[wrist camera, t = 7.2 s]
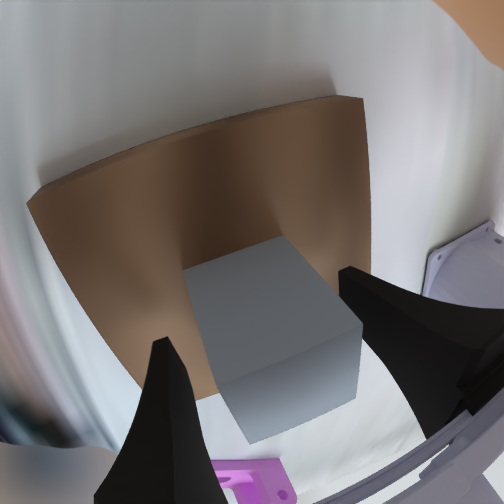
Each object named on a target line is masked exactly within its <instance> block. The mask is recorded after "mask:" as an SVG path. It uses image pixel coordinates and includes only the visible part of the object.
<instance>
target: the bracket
mask: <svg viewBox="0 0 504 504" xmlns="http://www.w3.org/2000/svg"><path fill="white" fill-rule="evenodd" d="M211 463H212V466H213V468H214V471H215V473H216V476H217V478H218V481H219V483H220V486H221V488H230V489H232V490H233V492H234V494H235V497H236V500H237V502H238V504H296V502H297V496H296V493H295V491H294V489H293V487H292V484H291V482H290V480H289V478H288V476H287V474H286V472H285V470H284V468H283V465H282V463H281V461H280V459H279V458H278V459H262V460H211ZM278 496H279V497H278Z"/></svg>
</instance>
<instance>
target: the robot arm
mask: <svg viewBox="0 0 504 504" xmlns="http://www.w3.org/2000/svg"><path fill="white" fill-rule="evenodd" d="M494 225H495V223H494V221H492V220H490V221H488V222H486V223H485V224H483V225H481V226H480V227H478V228H476V229H474V230H473V231H471V232H469V233H467V234H466V235H464V236H462V237H460V238H458V239H457V240H455V241H453V242H451V243H449V244H447V245H446V246H444V247H442V248H440V249H438V250H436V251H434V252H433V253H431V254H430V256H429V258H428V265H427V271H426V277H425V283H424V289H423V294H422V295H419V294H416V293H413V292H410V291H408V290H405V289H403V288H400V287H398V286H395V285H393V284H391V283H388V282H386V281H384V280H381V279H379V278H377V277H375V276H373V275H370V274H368V273H366V272H364V271H362V270H359V269H357V268H355V267H353V266H348V267H346V268H344V269H341V270H339V271H338V281H339V297H340V298H341V299H342V300H343V301H344V303H345V304H346V305H347V306H348V307H349V308H350V309H351V311H352V312H353V313H354V314H355V315H356V316H357V317H358V318H359V320H360V321H361V322H362V323H363V332H362V338H363V340H364V341H365V342H366V343H367V344H368V345H369V347H370V348H371V349H372V350H373V351H374V352H375V354H376V355H377V356H378V357H379V358H380V359H381V361H382V362H383V363H384V365H385V366H386V367H387V369H388V370H389V372H390V373H391V375H392V376H393V378H394V380H395V381H396V383H397V384H398V386H399V388H400V389H401V391H402V393H403V394H404V396H405V398H406V399H407V401H408V403H409V405H410V407H411V409H412V410H413V412H414V414H415V416H416V418H417V420H418V422H419V424H420V426H421V429H422V431H423V433H424V435H425V438H426V439H427V440H426V441H425V442H423V443H422V444H420V445H419V446H417V447H416V448H414V449H413V450H411V451H410V452H408V453H407V454H405V455H404V456H402V457H401V458H399V459H398V460H396V461H394V462H393V463H391V464H389V465H388V466H386V467H384V468H383V469H381V470H379V471H378V472H376V473H374V474H372V475H371V476H369V477H367V478H365V479H363V480H361V481H359V482H358V483H356V484H354V485H352V486H350V487H348V488H346V489H344V490H342V491H340V492H338V493H336V494H333V495H331V496H329V497H327V498H325V499H323V500H320V501H318V502H316V503H313V504H356V503H358V502H360V501H362V500H364V499H366V498H368V497H369V496H371V495H373V494H375V493H377V492H378V491H380V490H382V489H384V488H385V487H387V486H388V485H390V484H392V483H394V482H395V481H397V480H399V479H400V478H401V477H403V476H405V475H406V474H408V473H409V472H411V471H412V470H414V469H415V468H417V467H418V466H420V465H421V464H423V463H424V462H426V461H427V460H428V459H430V458H431V457H432V456H434V455H435V454H437V453H438V452H439V451H441V450H442V449H443V448H445V447H446V446H447V445H448V444H449V446H448V447H447V448H446V449H445V450H444V451H443V452H441V453H440V454H439V455H438V456H437V457H435V458H434V459H433V460H432V461H431V463H430V464H429V465H428V466H427V467H426V468H425V469H424V470H423V471H422V472H421V473H420V474H419V477H420V479H421V480H420V481H418V482H417V483H415V484H414V485H412V486H411V487H409V488H408V489H406V490H404V491H403V492H401V493H400V494H398V495H396V496H394V497H393V498H391V499H390V500H388V501H386V502H385V503H383V504H504V502H503V501H502V499H501V498H500V497H499V495H498V494H497V493H496V491H495V490H494V489H493V487H492V486H491V485H490V483H489V482H488V481H487V479H486V478H485V476H484V475H483V474H482V473H483V472H484V471H485V470H486V469H487V468H488V467H489V466H490V465H491V464H492V463H493V462H494V461H495V460H496V459H497V458H498V457H499V455H501V453H502V452H503V451H504V237H503V236H501V235H500V234H498V233H496V232H495V231H493V230H494ZM94 504H228V502H227V499H226V497H225V495H224V493H223V490H222V488H221V486H220V483H219V481H218V478H217V476H216V473H215V471H214V468H213V466H212V463H211V460H210V457H209V455H208V452H207V449H206V446H205V443H204V439H203V435H202V431H201V426H200V421H199V417H198V412H197V407H196V402H195V397H194V392H193V388H192V385H191V381H190V378H189V375H188V372H187V369H186V366H185V365H184V363H183V361H182V360H181V358H180V356H179V355H178V353H177V351H176V349H175V348H174V346H173V344H172V342H171V341H170V339H169V337H168V336H167V337H164V338H161V339H158V340H155V341H153V343H152V347H151V353H150V359H149V364H148V369H147V373H146V378H145V382H144V386H143V390H142V394H141V397H140V401H139V404H138V408H137V411H136V414H135V417H134V420H133V422H132V425H131V428H130V430H129V433H128V435H127V437H126V440H125V442H124V444H123V446H122V449H121V451H120V453H119V455H118V456H117V458H116V460H115V462H114V464H113V466H112V468H111V469H110V471H109V473H108V475H107V476H106V478H105V479H104V481H103V482H102V484H101V485H100V487H99V488H98V490H97V491H96V493H95V494H94Z"/></svg>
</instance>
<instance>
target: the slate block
mask: <svg viewBox="0 0 504 504" xmlns="http://www.w3.org/2000/svg"><path fill="white" fill-rule="evenodd" d="M183 274H184V278H185V282H186V286H187V289H188V293H189V297H190V301H191V304H192V308H193V311H194V315H195V318H196V322H197V325H198V329H199V332H200V336H201V339H202V342H203V346H204V349H205V352H206V355H207V359H208V362H209V365H210V368H211V371H212V375H213V378H214V381H215V384H216V386H217V388H218V390H219V392H220V394H221V396H222V397H223V399H224V401H225V403H226V405H227V406H228V408H229V410H230V412H231V413H232V415H233V417H234V419H235V420H236V422H237V424H238V426H239V427H240V429H241V431H242V432H243V434H244V436H245V437H246V439H247V441H248V442H249V444H253V443H256V442H258V441H261V440H264V439H266V438H269V437H271V436H274V435H277V434H279V433H282V432H284V431H286V430H289V429H291V428H294V427H296V426H298V425H301V424H303V423H305V422H307V421H310V420H312V419H314V418H316V417H318V416H321V415H323V414H325V413H327V412H329V411H331V410H333V409H335V408H337V407H339V406H341V405H343V404H345V403H347V402H349V401H351V400H353V399H355V398H356V392H357V384H358V375H359V366H360V355H361V344H362V332H363V323H362V322H361V321H360V320H359V318H358V317H357V316H356V315H355V314H354V313H353V312H352V311H351V309H350V308H349V307H348V306H347V305H346V304H345V303H344V301H343V300H342V299H341V298H340V297H339V296H338V295H337V294H336V292H335V291H334V290H333V289H332V288H331V287H330V286H329V285H328V284H327V282H326V281H325V280H324V279H323V278H322V277H321V276H320V275H319V274H318V272H317V271H316V270H315V269H314V268H313V267H312V266H311V265H310V264H309V263H308V261H307V260H306V259H305V258H304V257H303V256H302V255H301V254H300V253H299V252H298V251H297V249H296V248H295V247H294V246H293V245H292V244H291V243H290V242H289V241H288V240H287V239H286V238H285V237H284V235H282V236H279V237H276V238H273V239H270V240H267V241H264V242H262V243H259V244H256V245H253V246H250V247H247V248H245V249H242V250H239V251H236V252H233V253H230V254H228V255H225V256H222V257H219V258H216V259H213V260H211V261H208V262H205V263H202V264H199V265H196V266H194V267H191V268H188V269H185V270H183Z"/></svg>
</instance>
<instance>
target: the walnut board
mask: <svg viewBox="0 0 504 504" xmlns="http://www.w3.org/2000/svg"><path fill="white" fill-rule="evenodd" d="M26 204H27V206H28V208H29V211H30V213H31V215H32V217H33V219H34V221H35V223H36V226H37V228H38V230H39V232H40V234H41V236H42V238H43V240H44V242H45V244H46V245H47V247H48V249H49V251H50V253H51V255H52V257H53V259H54V260H55V262H56V264H57V266H58V268H59V269H60V271H61V273H62V275H63V276H64V278H65V280H66V282H67V283H68V285H69V287H70V288H71V290H72V292H73V293H74V295H75V297H76V298H77V300H78V301H79V303H80V305H81V306H82V308H83V309H84V311H85V312H86V314H87V315H88V317H89V318H90V320H91V321H92V323H93V324H94V326H95V327H96V329H97V330H98V332H99V333H100V335H101V336H102V338H103V339H104V340H105V342H106V343H107V345H108V346H109V347H110V349H111V350H112V351H113V353H114V354H115V356H116V357H117V358H118V360H119V361H120V362H121V364H122V365H123V366H124V367H125V369H126V370H127V371H128V373H129V374H130V375H131V376H132V378H133V379H134V380H135V381H136V383H137V384H138V385H139V386H140V388H141V389H142V390H143V386H144V382H145V378H146V373H147V369H148V364H149V359H150V353H151V347H152V343H153V341H155V340H158V339H161V338H164V337H167V336H168V337H169V339H170V341H171V342H172V344H173V346H174V348H175V349H176V351H177V353H178V355H179V356H180V358H181V360H182V361H183V363H184V365H185V366H186V369H187V372H188V375H189V378H190V381H191V385H192V388H193V392H194V397H195V401H196V400H199V399H202V398H205V397H208V396H211V395H214V394H217V393H220V392H219V390H218V388H217V386H216V384H215V381H214V378H213V375H212V371H211V368H210V365H209V362H208V359H207V355H206V352H205V349H204V346H203V342H202V339H201V336H200V332H199V329H198V325H197V322H196V318H195V315H194V311H193V308H192V304H191V301H190V297H189V293H188V289H187V286H186V282H185V278H184V274H183V270H185V269H188V268H191V267H194V266H196V265H199V264H202V263H205V262H208V261H211V260H213V259H216V258H219V257H222V256H225V255H228V254H230V253H233V252H236V251H239V250H242V249H245V248H247V247H250V246H253V245H256V244H259V243H262V242H264V241H267V240H270V239H273V238H276V237H279V236H282V235H284V237H285V238H286V239H287V240H288V241H289V242H290V243H291V244H292V245H293V246H294V247H295V248H296V249H297V251H298V252H299V253H300V254H301V255H302V256H303V257H304V258H305V259H306V260H307V261H308V263H309V264H310V265H311V266H312V267H313V268H314V269H315V270H316V271H317V272H318V274H319V275H320V276H321V277H322V278H323V279H324V280H325V281H326V282H327V284H328V285H329V286H330V287H331V288H332V289H333V290H334V291H335V292H336V294H337V295H338V296H339V281H338V271H339V270H341V269H344V268H346V267H348V266H353V267H355V268H357V269H359V270H362V271H364V272H366V273H368V274H370V275H371V196H370V173H369V157H368V143H367V132H366V121H365V112H364V103H363V98H357V97H349V96H341V95H335V96H329V97H322V98H317V99H311V100H305V101H300V102H295V103H289V104H284V105H280V106H275V107H270V108H266V109H261V110H257V111H253V112H249V113H245V114H240V115H237V116H233V117H229V118H225V119H221V120H218V121H214V122H210V123H207V124H203V125H200V126H197V127H193V128H190V129H187V130H184V131H180V132H177V133H174V134H171V135H168V136H165V137H162V138H159V139H156V140H153V141H150V142H148V143H145V144H142V145H139V146H136V147H134V148H131V149H128V150H126V151H123V152H120V153H118V154H115V155H113V156H110V157H108V158H105V159H103V160H100V161H98V162H96V163H93V164H91V165H89V166H86V167H84V168H82V169H79V170H77V171H75V172H73V173H70V174H68V175H66V176H64V177H62V178H60V179H57V180H55V181H53V182H51V183H49V184H47V185H45V186H43V187H41V188H40V189H39V190H38V191H37V192H36V193H35V194H34V195H33V196H32V198H31V199H30V200H29V201H28V202H27V203H26Z"/></svg>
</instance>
